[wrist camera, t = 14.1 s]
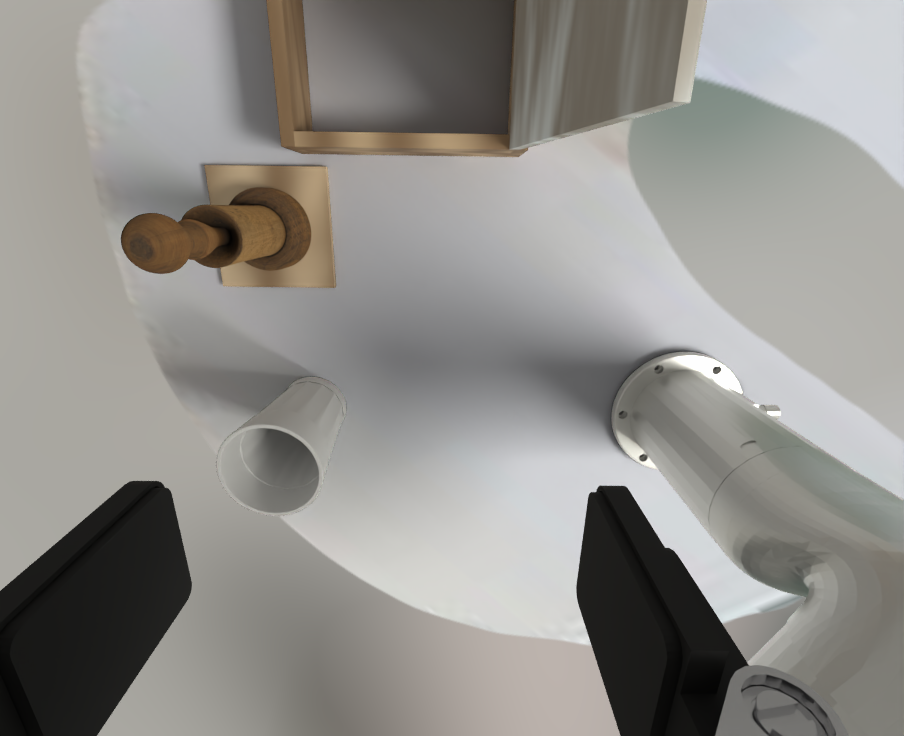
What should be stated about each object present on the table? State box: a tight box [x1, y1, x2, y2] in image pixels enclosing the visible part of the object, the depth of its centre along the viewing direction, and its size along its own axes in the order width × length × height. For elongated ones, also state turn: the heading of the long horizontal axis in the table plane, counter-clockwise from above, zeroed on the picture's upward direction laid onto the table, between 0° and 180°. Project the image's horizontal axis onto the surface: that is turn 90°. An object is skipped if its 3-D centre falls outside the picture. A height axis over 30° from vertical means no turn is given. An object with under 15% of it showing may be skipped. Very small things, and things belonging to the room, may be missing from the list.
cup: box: [216, 377, 346, 516], centre depth 40 cm, size 8×8×12 cm
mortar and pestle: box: [121, 187, 311, 274], centre depth 31 cm, size 7×6×18 cm
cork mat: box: [204, 165, 336, 288], centre depth 40 cm, size 10×10×1 cm
